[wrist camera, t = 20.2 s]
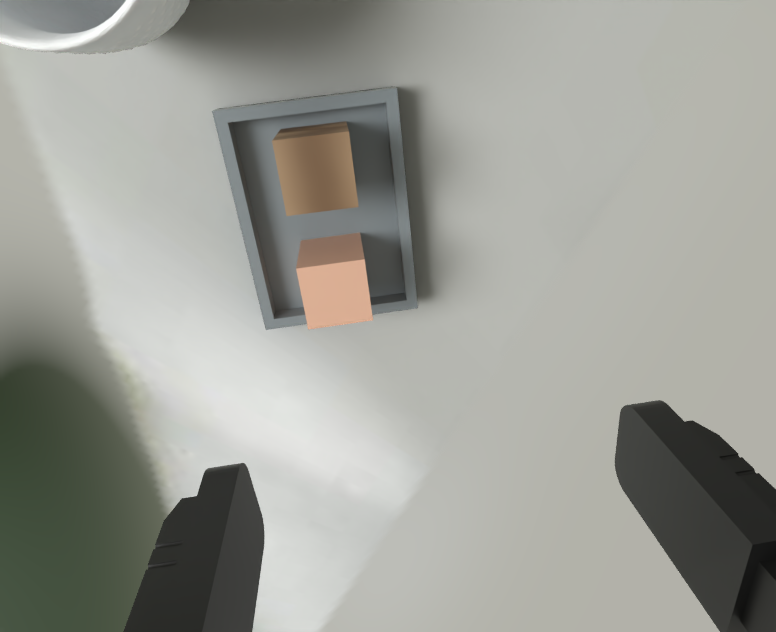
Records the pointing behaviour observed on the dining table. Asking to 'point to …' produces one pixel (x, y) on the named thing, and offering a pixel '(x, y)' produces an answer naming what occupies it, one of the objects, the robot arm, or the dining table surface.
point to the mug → (86, 24)
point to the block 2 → (333, 281)
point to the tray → (284, 233)
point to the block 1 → (315, 168)
